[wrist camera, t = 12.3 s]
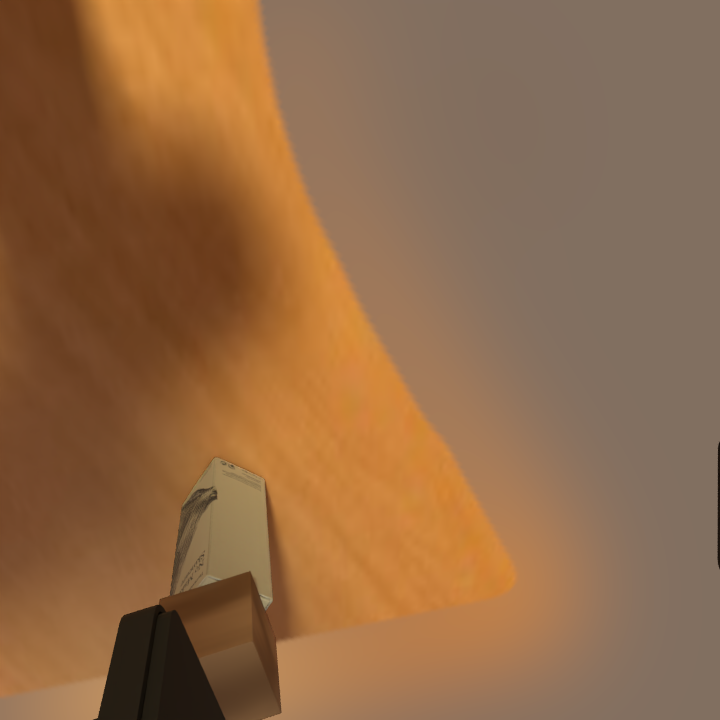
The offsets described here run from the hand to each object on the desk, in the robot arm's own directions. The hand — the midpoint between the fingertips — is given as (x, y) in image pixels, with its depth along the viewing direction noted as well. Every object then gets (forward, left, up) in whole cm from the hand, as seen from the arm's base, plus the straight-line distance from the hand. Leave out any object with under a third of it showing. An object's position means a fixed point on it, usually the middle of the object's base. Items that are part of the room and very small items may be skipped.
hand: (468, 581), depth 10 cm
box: (+17, -10, -34) cm, 39 cm away
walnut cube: (+17, -10, -20) cm, 28 cm away
